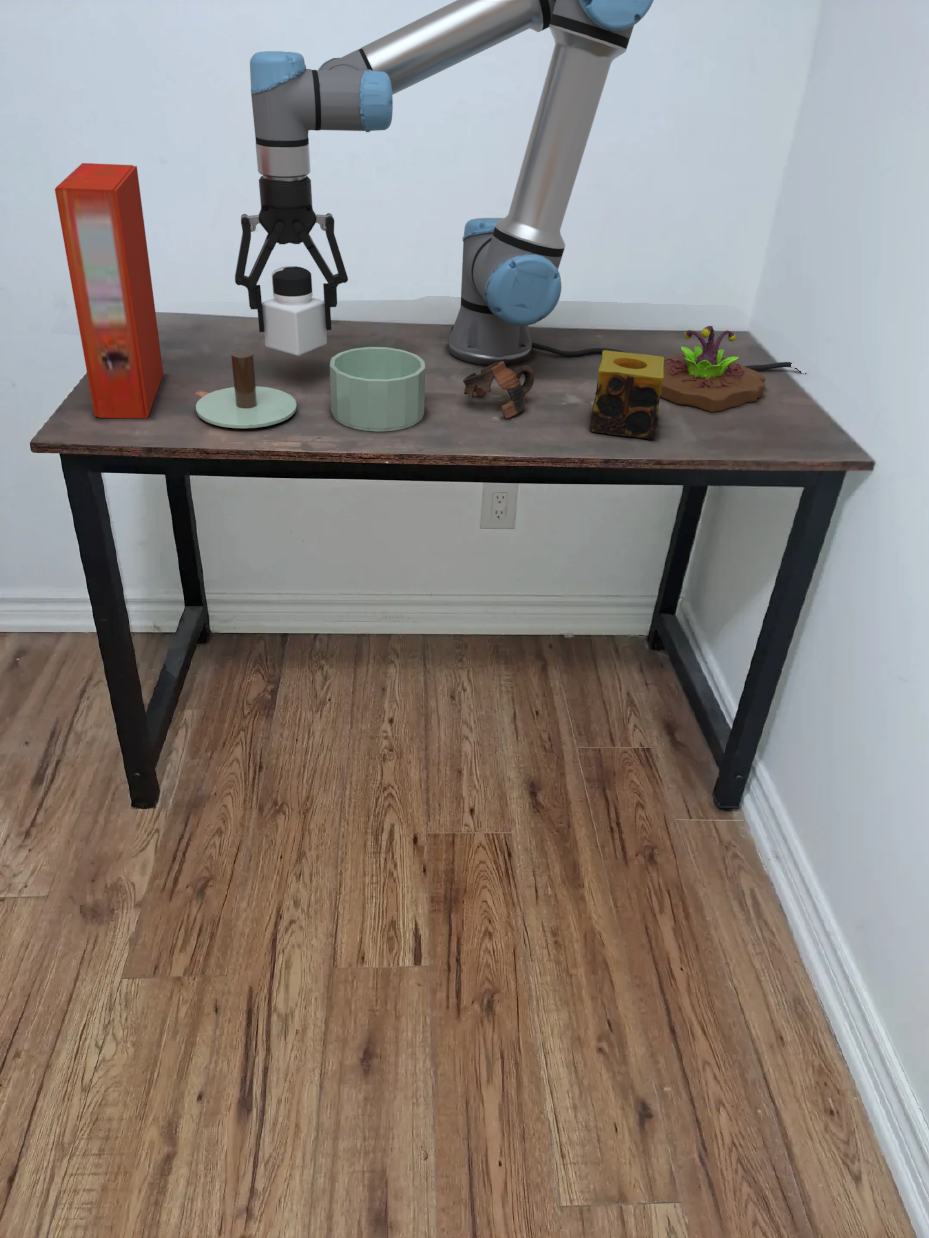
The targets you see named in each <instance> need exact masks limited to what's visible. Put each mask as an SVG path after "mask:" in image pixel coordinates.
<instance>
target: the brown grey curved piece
mask: <svg viewBox="0 0 929 1238" xmlns="http://www.w3.org/2000/svg"><path fill="white" fill-rule="evenodd" d="M522 375H524V381H523V383H522V384H521V381H520V378H521V376H522ZM494 380H496V381H497V384H498V387H500V388H501V390H504V391H506V392H507V394H508V396H509V397H510V398H509V399H510V400H509V401H508V402H506V403H505V404H503V405H501V410H502V412H503V415H504V418H505V420H506V419H510V418H512V417H515V416H516V415H517V414H519V413H522V412H523V411H525V401H524V400H525V399H524V398H525V397H526V395H527V393H529V392H530V390H531V389H532V387H533V386H534V383H535V372H534V371H533V369H532V367H530V366H528V365H520V366H517V367H515V368H508V367H507V365H505V363H504V362H503V361H500V362H497V363H494V364H492V365H487V366H486V367H483V368H481V369H480V373H476V372H472V373H470V374H469V375H467V376H466V377H465V378H463V380H462V382H463V383H464V386H465V387H464V390H463V395H468V396H469V397H470V398H471V399H472V398H473V397H474V393H475V395H476V396H477V397H478V398H480V399H481V398H482V397H483V396H484V395H486V394H487V393H489V392H492V387H491V386H492V383H493V381H494Z"/></svg>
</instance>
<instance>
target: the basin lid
mask: <svg viewBox="0 0 929 1238" xmlns="http://www.w3.org/2000/svg"><path fill="white" fill-rule="evenodd" d="M230 357H231V359H230V360H231V367H232V368H231V369H232V377H233V379H232V380H233V386H231V387H226V388H225V387H224V388H220V389H217V390H214V391H211V392H209V393H207V394H205V395H203V396H202V397H200V398H199V399H198V401H197V402H196V404H195V412H196V415H197V416H198V417H199V418H200V419H201V420H203V421H205V422H206V423H208V424H210V425H215V426H218V427H222V428H232V429H257V428H265V427H269V426H274V425H276V424H280V423H282V422H284V421H286V420H289V419H290V418H291V417H293V415H294V414H295V413H296V412H297V407H298V406H297V405H298V403H297V401H296V399H295V398H294V397H293V396H292V395H291V394H290V393H287V392H285V391H283V390H280V389H276V388H272V387H267V386H256V385H257V384H256V373H255V361H254V360H255V359H254V353H253V352H252V351H250V350H245V349H242V350H235V351H232V352H231V354H230Z"/></svg>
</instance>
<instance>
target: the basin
mask: <svg viewBox="0 0 929 1238" xmlns="http://www.w3.org/2000/svg"><path fill="white" fill-rule="evenodd" d="M329 360H330V361H329V381H330V382H329V383H330V385H329V386H330V387H329V388H330V411H331V415H332V417H333V419H334V420H335V421H336V422H338V423H339V424H341V425H343V426H345V427H348V428H350V429H354V430H360V431H364V432H365V431H366V432H376V433H377V432H378V433H379V432H382V433H383V432H384V433H385V432H394V431H400V430H404V429H408V428H410V427H413V426H416V425H417V424H419V423H420V422H421V421H422V420H423V418H424V417H425V416H424V415H425V400H426V399H425V398H426V397H425V395H426V394H425V393H426V362H425V360H424V359H422V358H421V357H420V356H419V355H418V354H415V353H412V352H410V351H407V350H404V349H398V348H394V347H387V346H365V347H357V348H350V349H347V350H344V351H341V352H338V353H336V354H335V355H334V356H332V357H331V358H330V359H329Z"/></svg>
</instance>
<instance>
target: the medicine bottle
mask: <svg viewBox="0 0 929 1238" xmlns="http://www.w3.org/2000/svg"><path fill="white" fill-rule="evenodd" d="M312 278H313V277H312V273H311V271H310V270H308V269H306V268H304V267H301V266H297V265H296V266H295V265H287V266H280V267H278V268H277V269H274V270H273V271H272V272H271V284H272V297H273V298H272V299H268V300H266V301H262V311H263V322H264V332H263V333H264V335H263V336H264V345H265V347H266V348H269V349H272V350H276V351H278V352H279V351H280V352H283V353H286V354H289V355H293V356H297V357H300V356H303V355H305V354H307V353H310V352H312V351H315V350H317V349H319V348H321V347H324V346H326V345H327V343H328V338H327V329H326V317H325V302H324V299H320V298H315V297H313V281H312Z"/></svg>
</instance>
